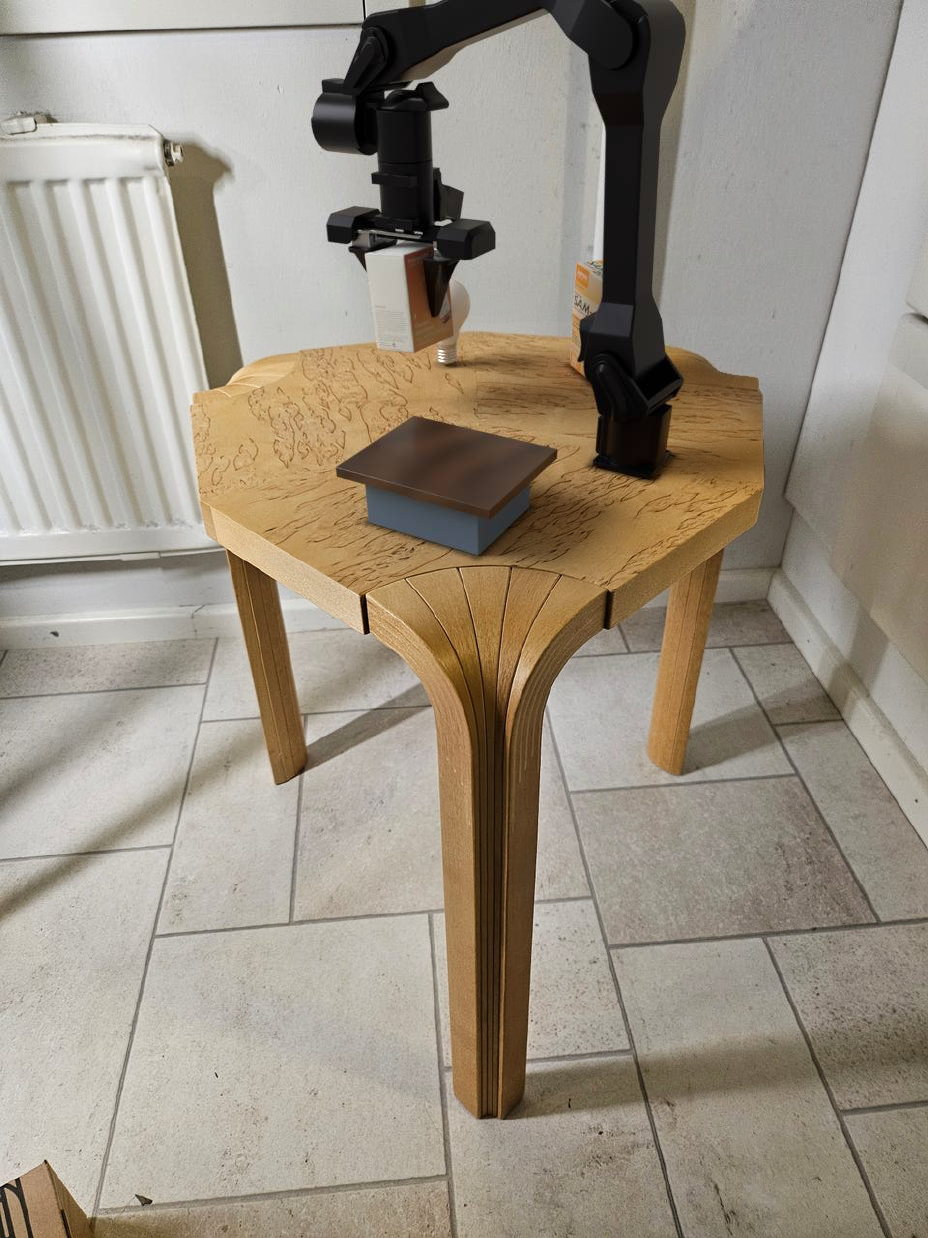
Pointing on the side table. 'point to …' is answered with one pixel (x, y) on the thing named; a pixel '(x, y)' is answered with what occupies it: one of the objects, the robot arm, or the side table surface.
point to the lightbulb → (454, 322)
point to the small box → (405, 299)
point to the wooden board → (449, 465)
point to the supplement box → (584, 303)
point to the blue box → (441, 519)
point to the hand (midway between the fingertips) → (413, 312)
